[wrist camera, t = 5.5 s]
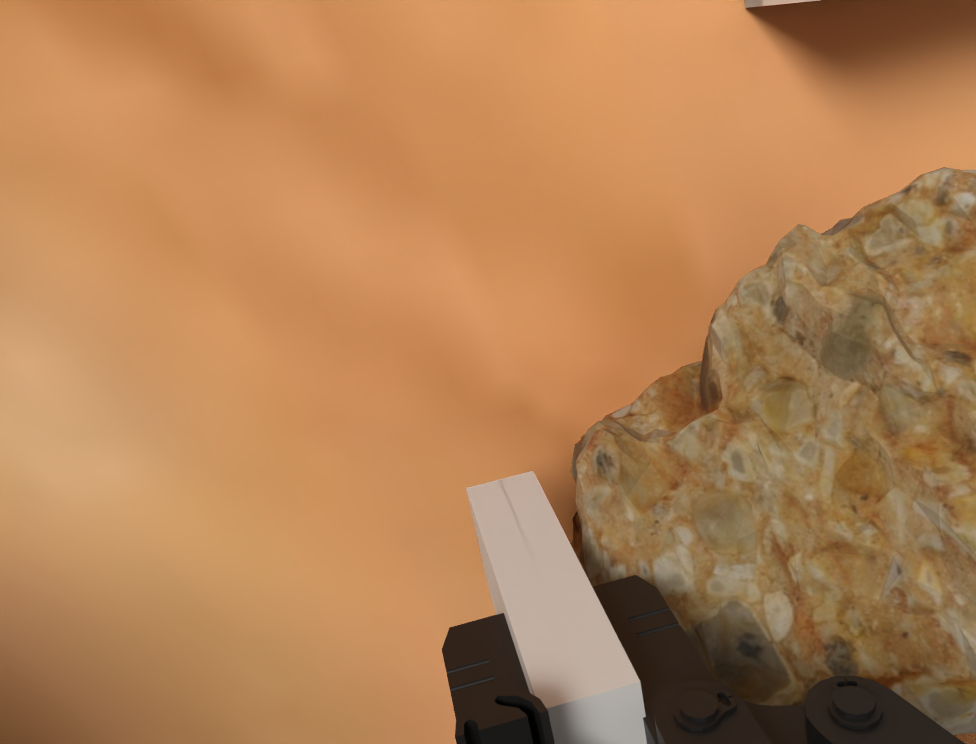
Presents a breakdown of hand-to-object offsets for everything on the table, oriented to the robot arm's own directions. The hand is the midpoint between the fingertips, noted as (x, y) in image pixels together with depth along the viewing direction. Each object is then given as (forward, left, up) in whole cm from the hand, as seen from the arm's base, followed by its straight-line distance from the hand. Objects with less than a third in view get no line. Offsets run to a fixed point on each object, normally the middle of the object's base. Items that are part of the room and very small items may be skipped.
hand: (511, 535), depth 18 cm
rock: (+6, 0, -3) cm, 7 cm away
